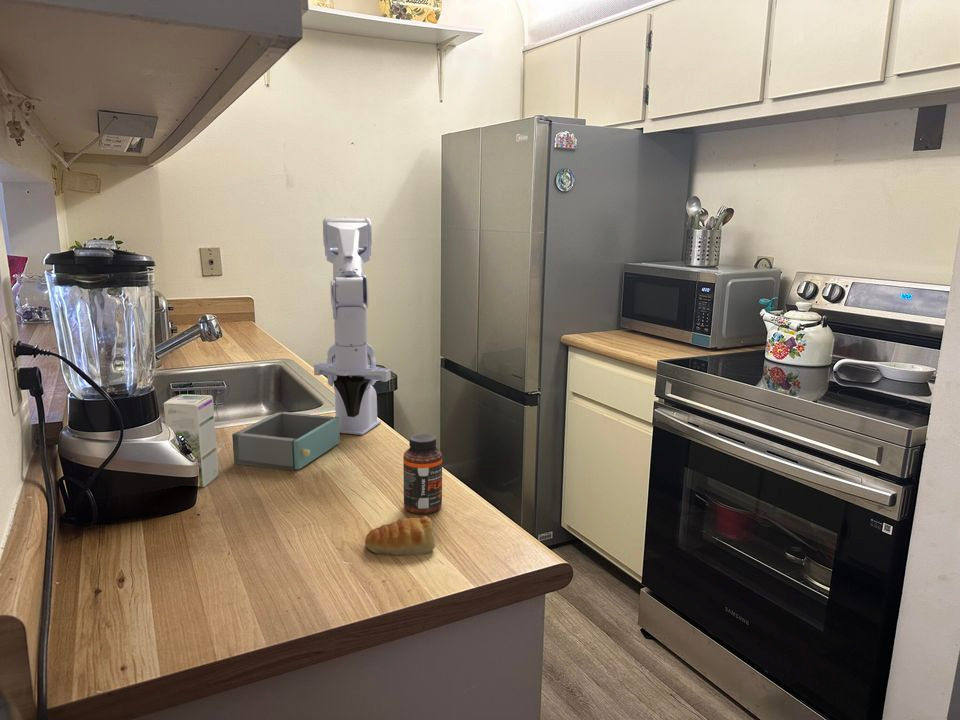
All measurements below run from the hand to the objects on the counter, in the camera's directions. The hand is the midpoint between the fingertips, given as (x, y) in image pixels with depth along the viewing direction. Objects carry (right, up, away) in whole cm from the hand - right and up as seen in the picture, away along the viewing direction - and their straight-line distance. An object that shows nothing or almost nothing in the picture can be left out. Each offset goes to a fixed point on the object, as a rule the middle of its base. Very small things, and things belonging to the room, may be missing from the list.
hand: (353, 415), depth 125 cm
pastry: (+13, -15, -33) cm, 39 cm away
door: (-6, -7, 0) cm, 9 cm away
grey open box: (-13, -7, +2) cm, 15 cm away
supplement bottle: (+15, -13, -21) cm, 28 cm away
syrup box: (-24, -10, -12) cm, 29 cm away
